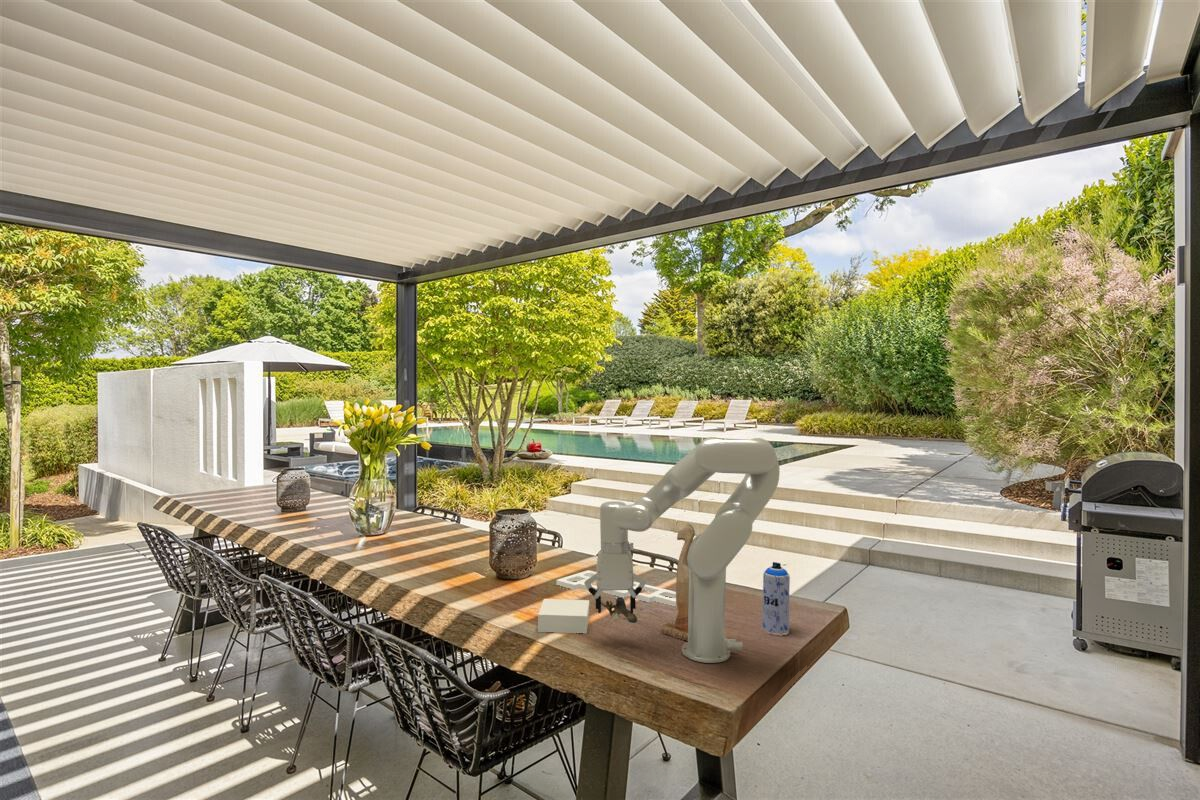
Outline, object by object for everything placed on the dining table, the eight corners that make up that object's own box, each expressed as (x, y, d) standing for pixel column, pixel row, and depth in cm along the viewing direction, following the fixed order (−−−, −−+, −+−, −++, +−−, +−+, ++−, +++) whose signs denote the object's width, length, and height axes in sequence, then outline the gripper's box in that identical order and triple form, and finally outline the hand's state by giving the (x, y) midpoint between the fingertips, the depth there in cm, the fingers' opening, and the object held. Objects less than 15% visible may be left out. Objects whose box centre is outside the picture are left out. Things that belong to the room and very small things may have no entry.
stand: (588, 616, 185) (589, 600, 185) (586, 633, 171) (587, 616, 171) (543, 615, 186) (543, 598, 186) (537, 632, 172) (538, 614, 172)
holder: (691, 603, 201) (691, 595, 201) (661, 617, 187) (661, 609, 187) (588, 577, 230) (588, 570, 230) (555, 587, 216) (556, 579, 216)
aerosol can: (756, 630, 177) (757, 562, 177) (769, 624, 182) (770, 557, 183) (781, 638, 171) (783, 567, 172) (793, 631, 177) (795, 562, 177)
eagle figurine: (597, 617, 163) (623, 617, 158) (602, 591, 167) (628, 590, 161) (614, 626, 167) (640, 626, 162) (618, 600, 171) (644, 600, 166)
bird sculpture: (680, 624, 182) (679, 517, 182) (715, 633, 174) (714, 522, 175) (660, 635, 173) (659, 523, 174) (695, 645, 166) (694, 527, 166)
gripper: (645, 544, 169) (646, 606, 169) (583, 544, 169) (584, 607, 169) (646, 550, 161) (648, 615, 161) (581, 551, 162) (583, 616, 162)
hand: (615, 611), depth 165 cm, fingers closed on eagle figurine, 8 cm apart
